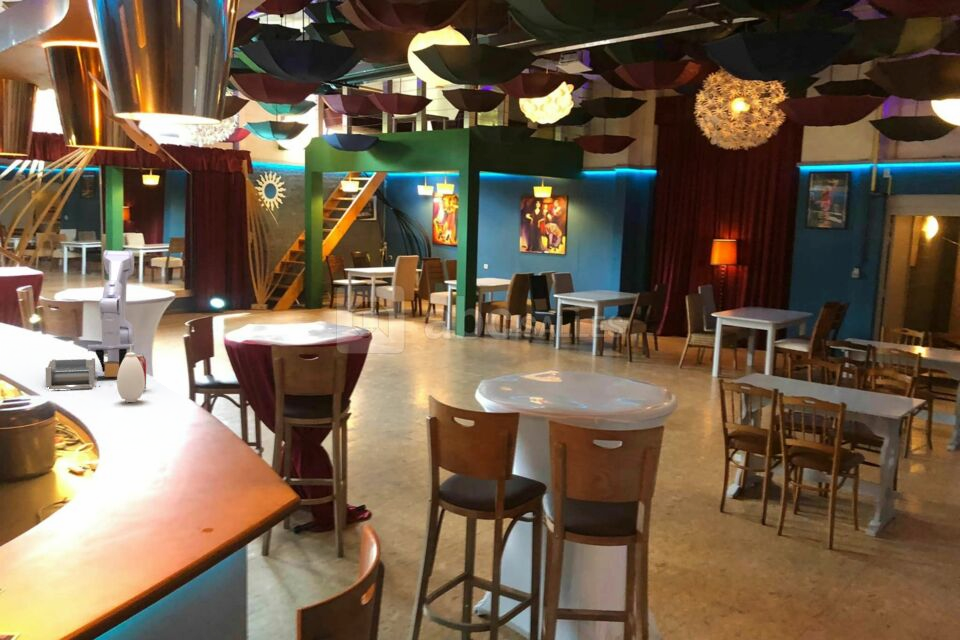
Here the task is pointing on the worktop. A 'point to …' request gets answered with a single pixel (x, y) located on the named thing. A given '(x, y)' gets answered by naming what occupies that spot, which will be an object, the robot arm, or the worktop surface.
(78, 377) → the case
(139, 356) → the soda can
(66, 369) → the lid
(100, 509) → the worktop surface
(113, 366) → the module
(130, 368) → the egg-shaped bottle
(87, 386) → the rod
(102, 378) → the mat
